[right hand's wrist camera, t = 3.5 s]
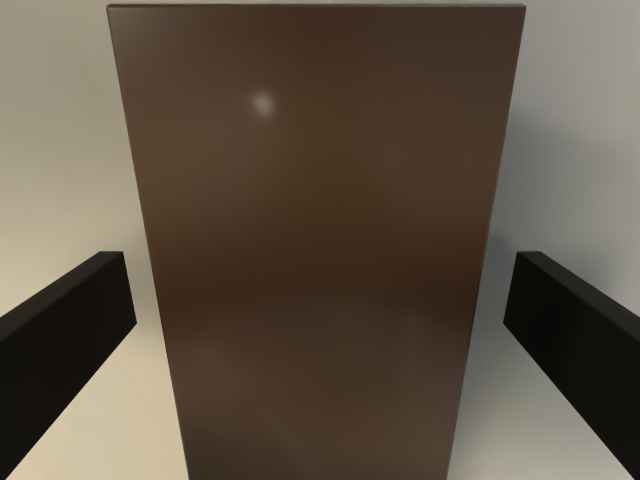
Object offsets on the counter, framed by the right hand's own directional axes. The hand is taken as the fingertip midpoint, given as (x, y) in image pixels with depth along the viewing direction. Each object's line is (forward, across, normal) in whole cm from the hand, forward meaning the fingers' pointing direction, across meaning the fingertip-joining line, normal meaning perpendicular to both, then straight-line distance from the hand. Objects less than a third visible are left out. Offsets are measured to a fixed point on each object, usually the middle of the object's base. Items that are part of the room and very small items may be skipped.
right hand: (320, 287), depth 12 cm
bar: (+3, 0, -33) cm, 33 cm away
